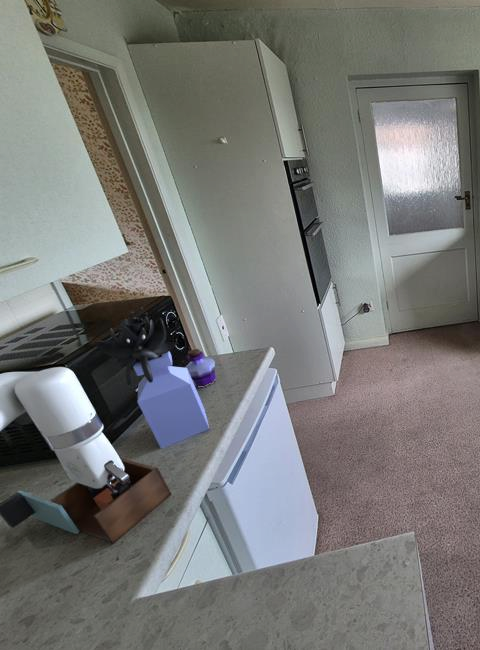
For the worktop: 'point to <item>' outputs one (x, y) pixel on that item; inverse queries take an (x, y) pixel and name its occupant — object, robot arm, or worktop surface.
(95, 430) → the robot arm
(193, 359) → the potion bottle
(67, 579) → the worktop surface
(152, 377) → the vase
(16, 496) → the light blue flat panel
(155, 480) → the crate
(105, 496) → the block
